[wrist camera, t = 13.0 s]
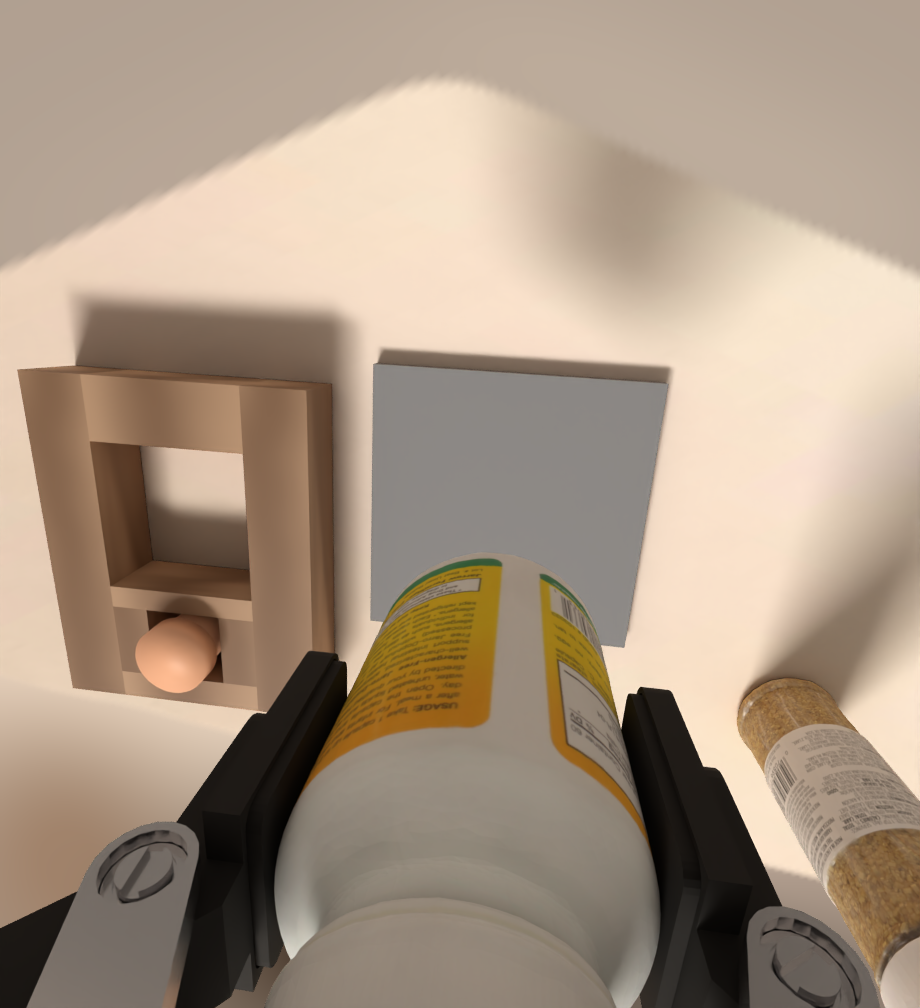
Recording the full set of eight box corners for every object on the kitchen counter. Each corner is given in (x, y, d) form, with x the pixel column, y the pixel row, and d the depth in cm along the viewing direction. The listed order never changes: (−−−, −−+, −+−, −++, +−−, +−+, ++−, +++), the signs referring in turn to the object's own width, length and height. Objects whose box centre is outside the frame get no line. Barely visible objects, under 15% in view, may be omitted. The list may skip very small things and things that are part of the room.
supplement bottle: (629, 585, 13) (874, 1138, 4) (553, 756, 15) (610, 1423, 6) (414, 516, 13) (190, 919, 4) (362, 696, 15) (120, 1263, 6)
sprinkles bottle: (811, 763, 27) (1068, 1146, 14) (718, 739, 27) (891, 1097, 15) (851, 686, 26) (1176, 1034, 13) (754, 661, 26) (979, 981, 13)
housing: (331, 383, 24) (306, 390, 21) (334, 679, 29) (314, 717, 26) (74, 365, 25) (17, 369, 22) (116, 653, 30) (73, 687, 27)
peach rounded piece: (246, 591, 28) (202, 633, 24) (249, 648, 28) (207, 696, 25) (184, 585, 28) (131, 625, 24) (190, 641, 29) (139, 688, 25)
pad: (664, 382, 23) (668, 383, 22) (621, 640, 26) (624, 647, 26) (377, 363, 24) (373, 364, 23) (373, 614, 27) (370, 620, 27)
